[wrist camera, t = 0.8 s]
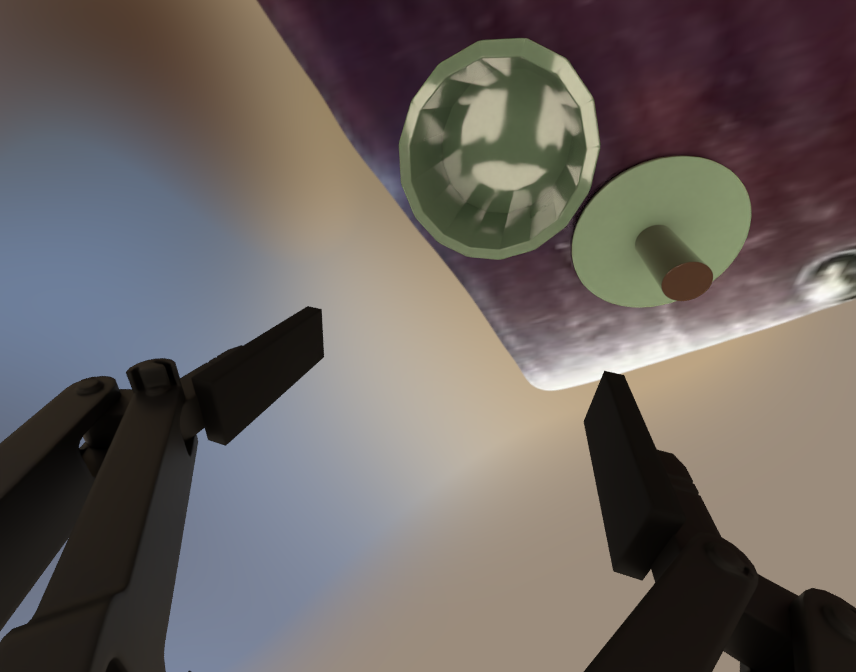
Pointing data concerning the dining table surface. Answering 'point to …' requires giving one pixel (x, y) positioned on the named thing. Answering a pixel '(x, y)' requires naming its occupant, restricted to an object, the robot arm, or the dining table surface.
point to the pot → (499, 148)
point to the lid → (661, 231)
